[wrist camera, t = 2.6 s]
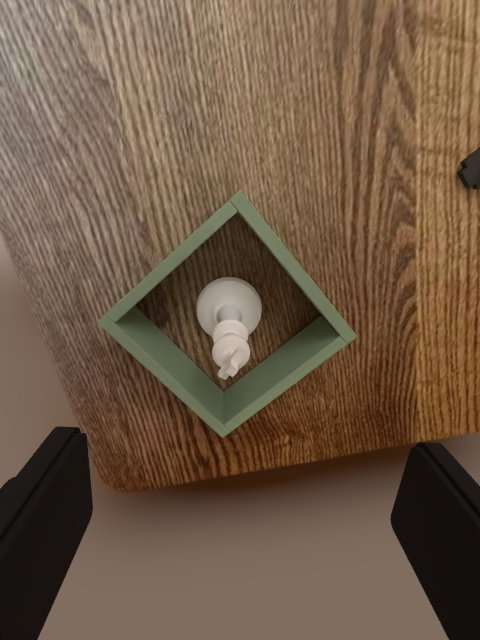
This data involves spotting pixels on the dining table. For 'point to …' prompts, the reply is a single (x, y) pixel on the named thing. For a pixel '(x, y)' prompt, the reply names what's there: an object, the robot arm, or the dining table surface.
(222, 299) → the chess piece
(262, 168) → the dining table surface
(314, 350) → the square frame
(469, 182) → the block figure
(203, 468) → the dining table surface
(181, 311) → the dining table surface
